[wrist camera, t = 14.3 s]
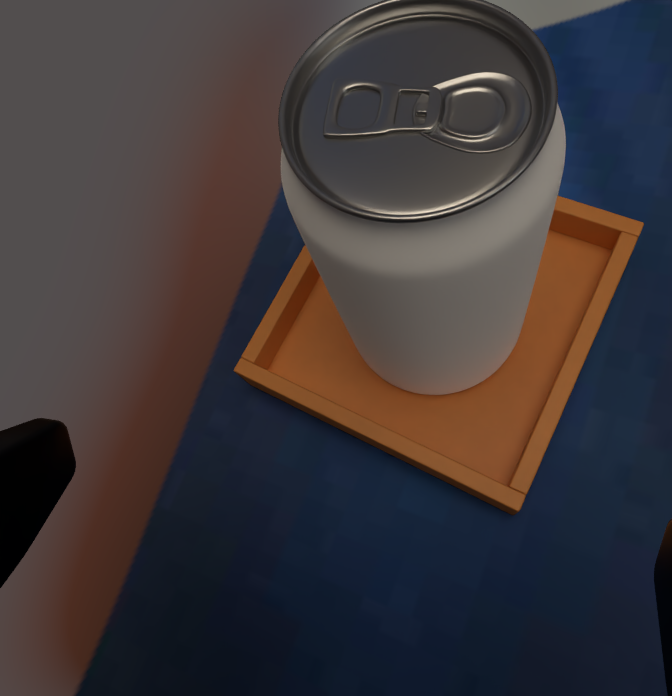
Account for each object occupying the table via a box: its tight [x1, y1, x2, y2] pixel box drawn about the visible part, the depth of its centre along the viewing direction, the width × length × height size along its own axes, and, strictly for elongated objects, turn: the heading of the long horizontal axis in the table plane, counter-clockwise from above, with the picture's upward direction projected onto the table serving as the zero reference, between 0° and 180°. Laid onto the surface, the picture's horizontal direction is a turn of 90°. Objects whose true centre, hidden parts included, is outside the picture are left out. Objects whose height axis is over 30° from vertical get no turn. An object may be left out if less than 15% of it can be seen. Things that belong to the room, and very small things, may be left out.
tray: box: [234, 196, 644, 515], centre depth 23 cm, size 11×11×2 cm
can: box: [278, 0, 566, 395], centre depth 18 cm, size 6×6×12 cm
